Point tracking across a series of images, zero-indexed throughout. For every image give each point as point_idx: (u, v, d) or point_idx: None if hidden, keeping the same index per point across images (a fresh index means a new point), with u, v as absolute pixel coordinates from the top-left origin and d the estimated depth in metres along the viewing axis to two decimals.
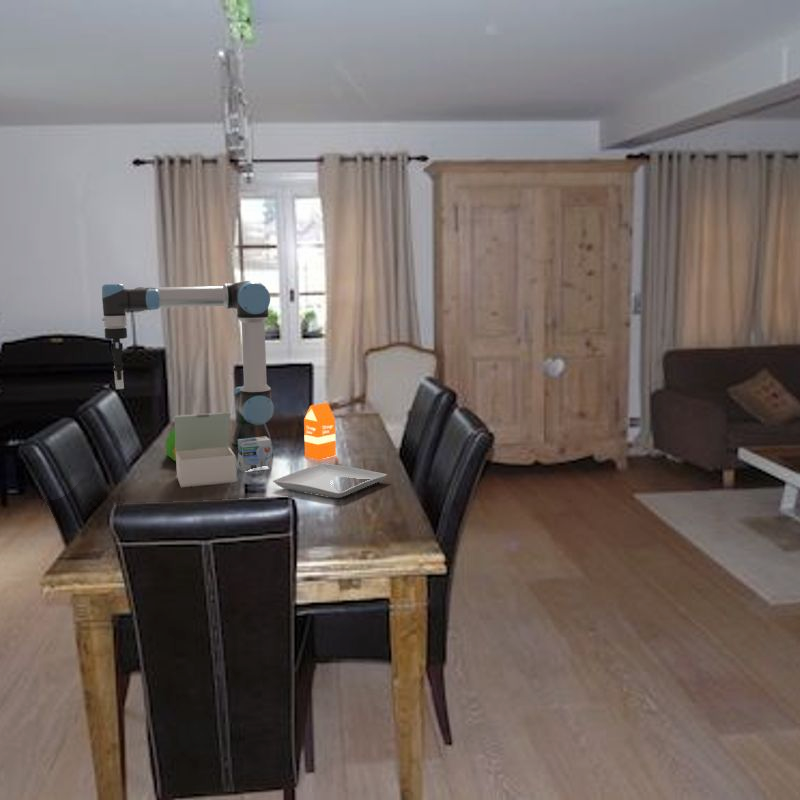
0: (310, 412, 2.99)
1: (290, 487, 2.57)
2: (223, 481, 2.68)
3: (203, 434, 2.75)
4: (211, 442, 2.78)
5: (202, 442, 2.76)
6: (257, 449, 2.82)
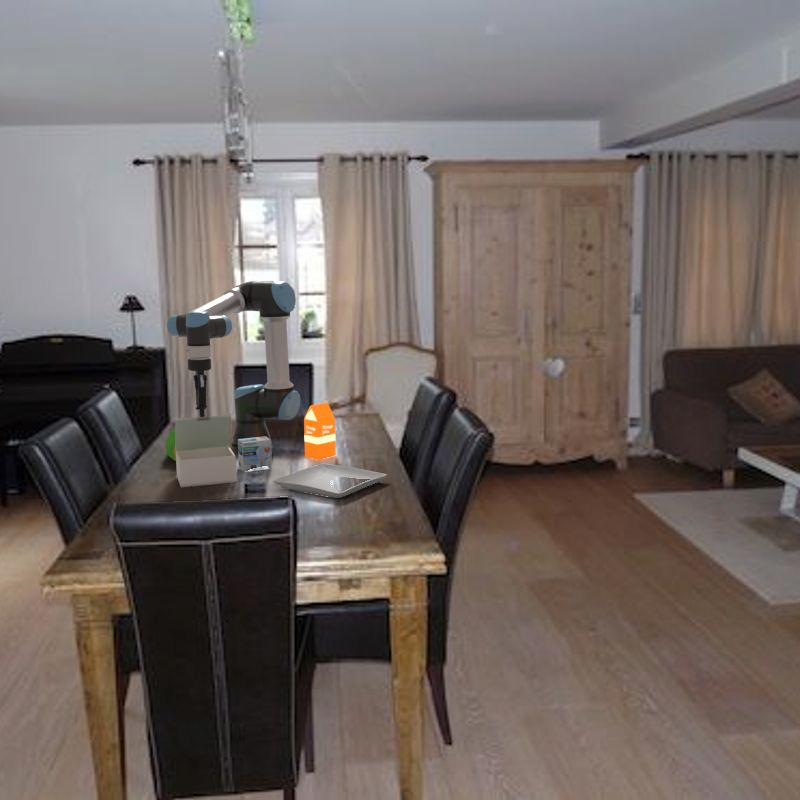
0: (310, 412, 2.99)
1: (290, 487, 2.57)
2: (223, 481, 2.68)
3: (203, 435, 2.74)
4: (211, 443, 2.77)
5: (202, 443, 2.76)
6: (257, 449, 2.82)
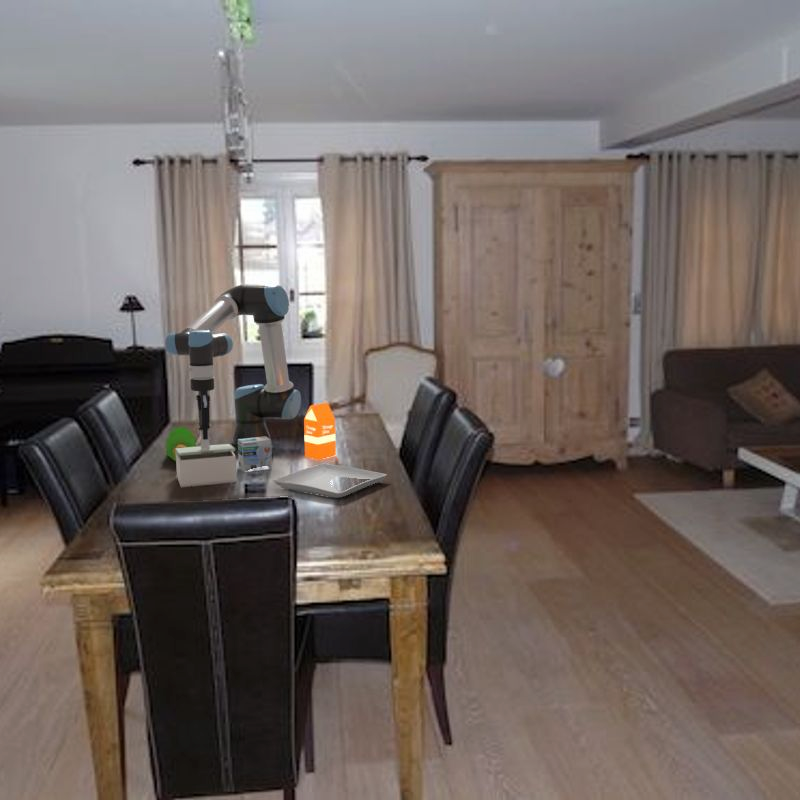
0: (310, 412, 2.99)
1: (290, 487, 2.57)
2: (223, 481, 2.68)
3: None
4: None
5: None
6: (257, 449, 2.82)
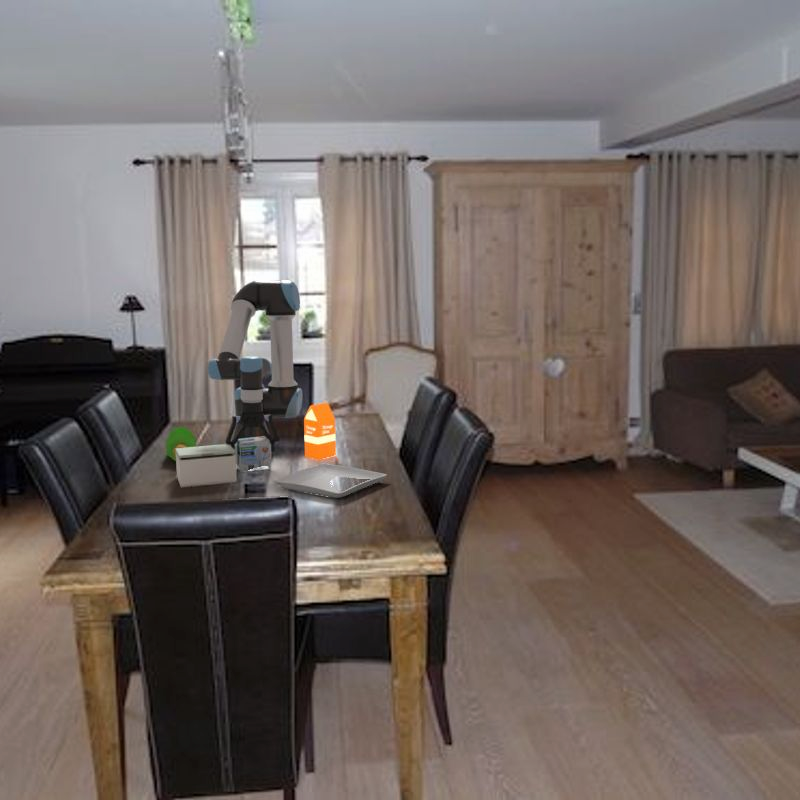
0: (310, 412, 2.99)
1: (290, 487, 2.57)
2: (223, 481, 2.68)
3: None
4: None
5: None
6: (254, 449, 2.82)
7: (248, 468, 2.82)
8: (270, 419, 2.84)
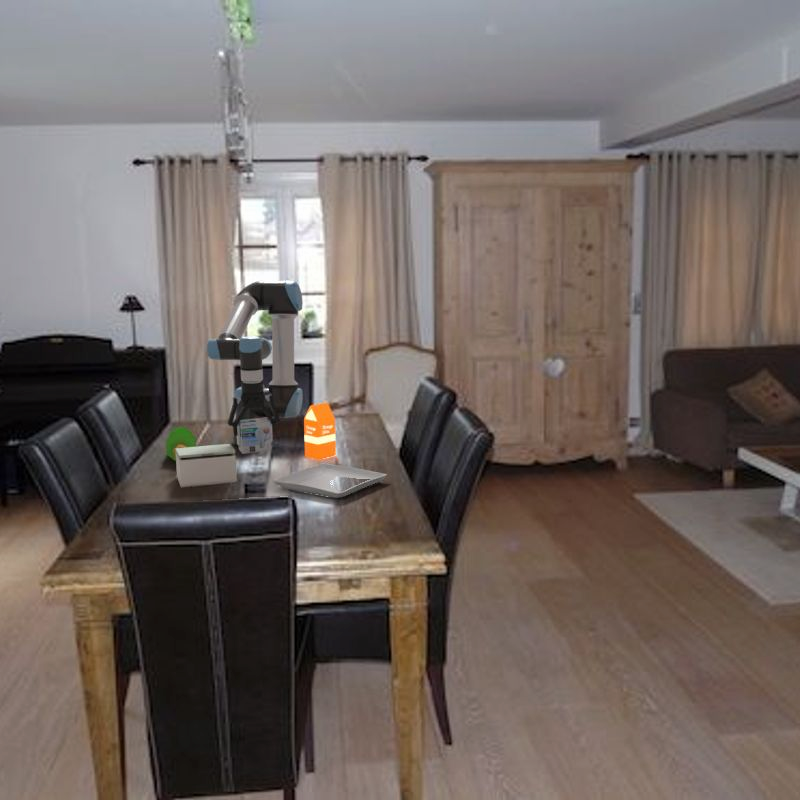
0: (310, 412, 2.99)
1: (290, 487, 2.57)
2: (223, 481, 2.68)
3: None
4: None
5: None
6: (255, 431, 2.82)
7: (249, 449, 2.82)
8: (271, 399, 2.83)
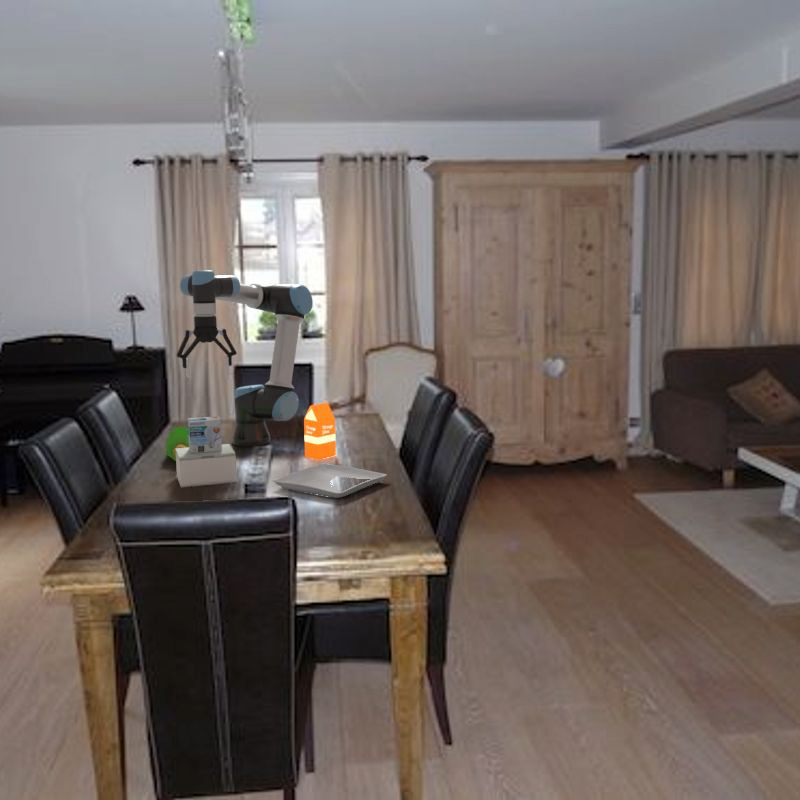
0: (310, 412, 2.99)
1: (290, 487, 2.57)
2: (223, 481, 2.68)
3: None
4: None
5: None
6: (205, 429, 2.67)
7: (198, 449, 2.68)
8: (224, 333, 2.82)
